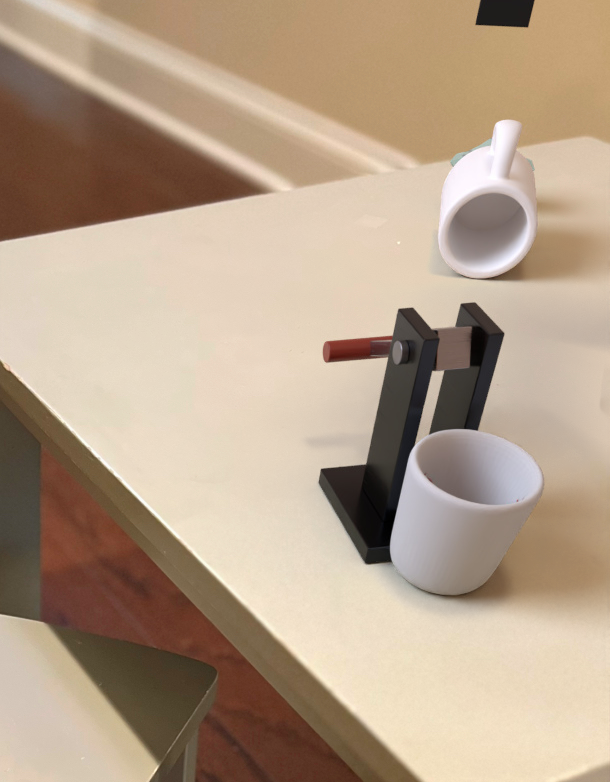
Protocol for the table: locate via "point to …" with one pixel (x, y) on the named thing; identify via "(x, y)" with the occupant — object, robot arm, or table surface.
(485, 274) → the mug
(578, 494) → the table surface
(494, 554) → the cup
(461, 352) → the lever
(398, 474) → the bracket
